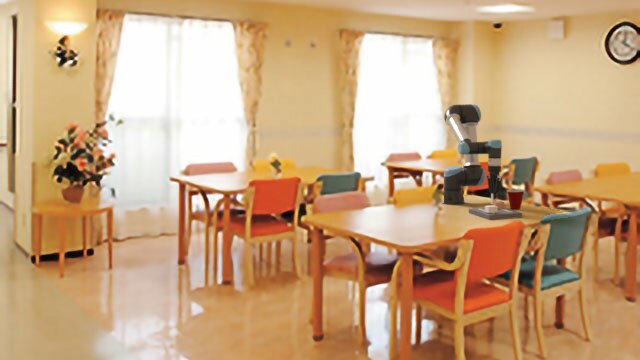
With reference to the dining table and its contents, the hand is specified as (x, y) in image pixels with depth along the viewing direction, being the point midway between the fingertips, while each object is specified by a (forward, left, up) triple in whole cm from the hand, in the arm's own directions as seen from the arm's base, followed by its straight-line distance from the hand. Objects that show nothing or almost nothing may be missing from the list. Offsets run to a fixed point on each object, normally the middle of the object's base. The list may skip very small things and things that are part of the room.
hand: (493, 203), depth 392 cm
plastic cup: (-1, +16, -5) cm, 17 cm away
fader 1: (+16, -12, -1) cm, 20 cm away
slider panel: (+11, -6, -4) cm, 13 cm away
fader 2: (+5, 0, -1) cm, 5 cm away
